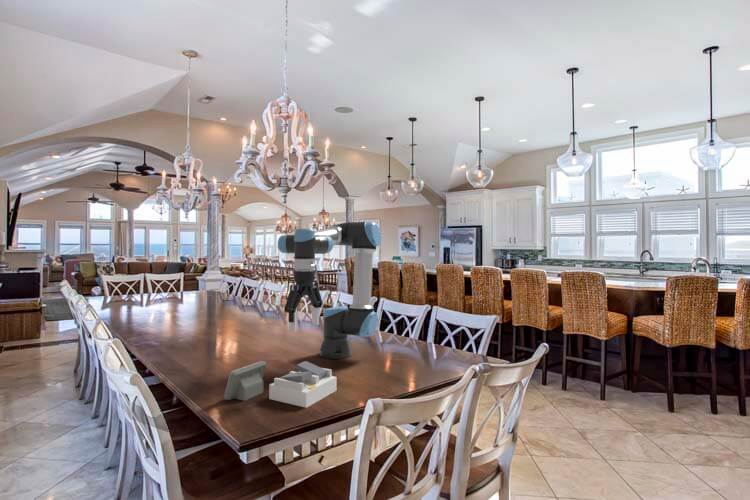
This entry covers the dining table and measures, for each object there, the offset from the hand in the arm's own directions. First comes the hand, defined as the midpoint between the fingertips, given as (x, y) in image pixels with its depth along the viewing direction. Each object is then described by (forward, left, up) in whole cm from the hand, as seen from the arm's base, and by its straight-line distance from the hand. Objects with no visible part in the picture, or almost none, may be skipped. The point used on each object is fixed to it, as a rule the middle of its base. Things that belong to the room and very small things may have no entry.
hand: (304, 327), depth 150 cm
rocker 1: (+4, -9, -16) cm, 19 cm away
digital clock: (-15, -14, -23) cm, 31 cm away
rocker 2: (+3, 0, -16) cm, 17 cm away
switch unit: (+3, -5, -23) cm, 23 cm away
